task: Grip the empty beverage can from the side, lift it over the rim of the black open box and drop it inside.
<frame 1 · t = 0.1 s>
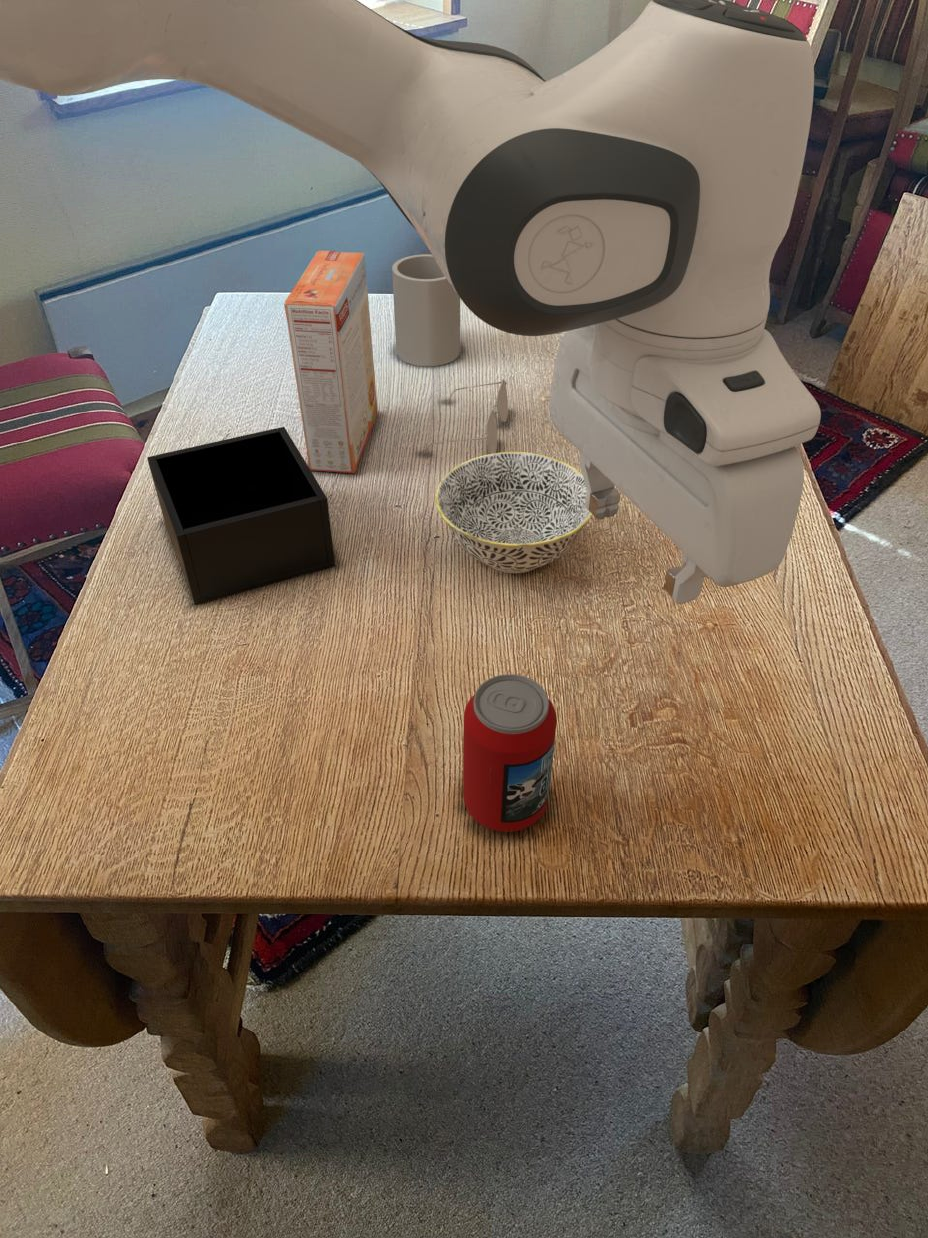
hand: (638, 551, 59), 23 cm above the table, tool pointing down, fingers open, 8 cm apart
apple: (627, 377, 124), on the table
cup: (428, 352, 129), on the table
cracker box: (343, 443, 111), on the table
sunglasses: (468, 432, 113), on the table
beverage can: (505, 803, 72), on the table
black open box: (248, 544, 96), on the table
bowl: (512, 554, 96), on the table
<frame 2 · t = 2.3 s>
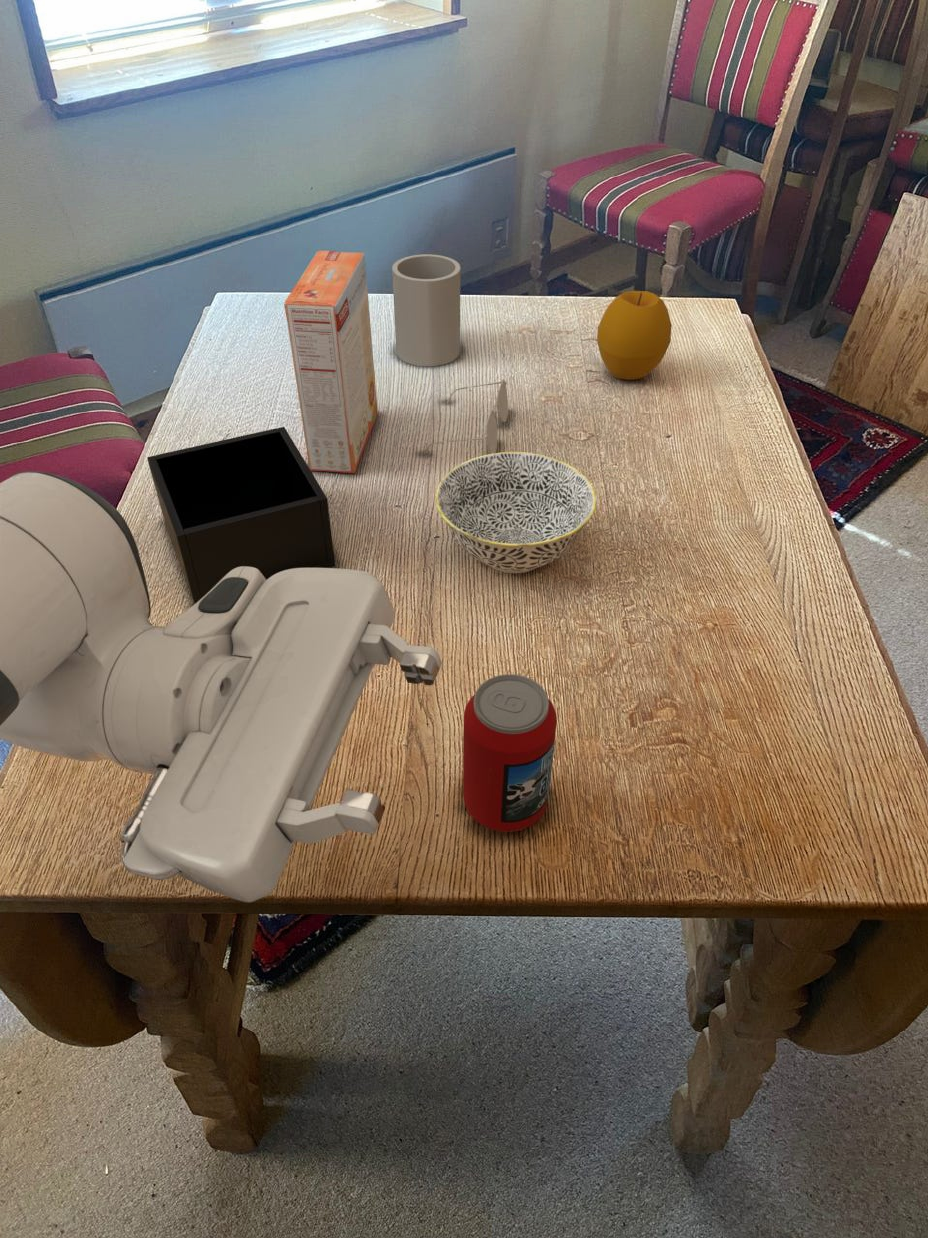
hand: (408, 737, 49), 22 cm above the table, tool horizontal, fingers open, 8 cm apart
nothing on the table moved.
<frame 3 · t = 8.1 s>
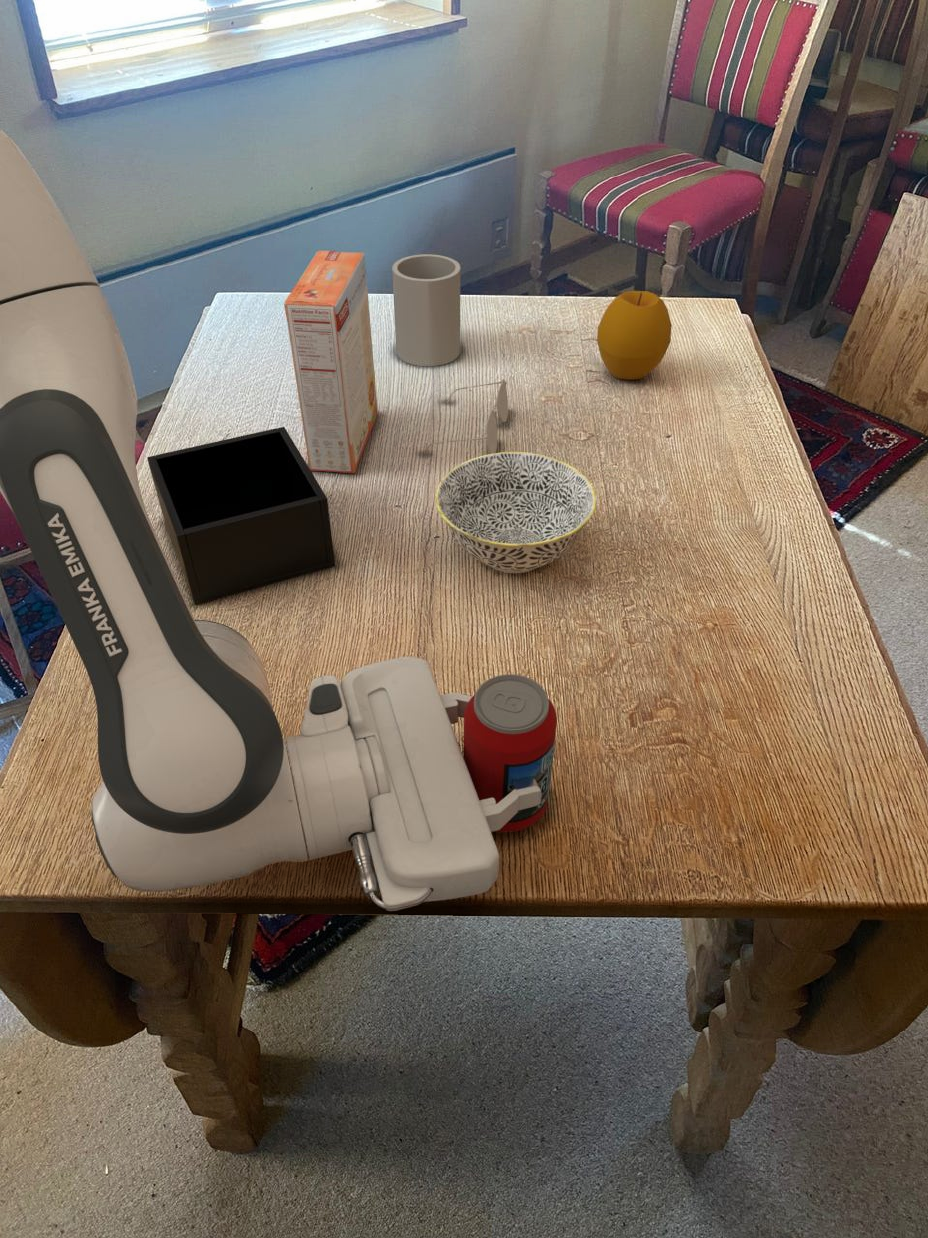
hand: (519, 747, 68), 7 cm above the table, tool horizontal, fingers closed on beverage can, 7 cm apart
beverage can: (505, 803, 72), on the table, touching gripper
everything else where it was.
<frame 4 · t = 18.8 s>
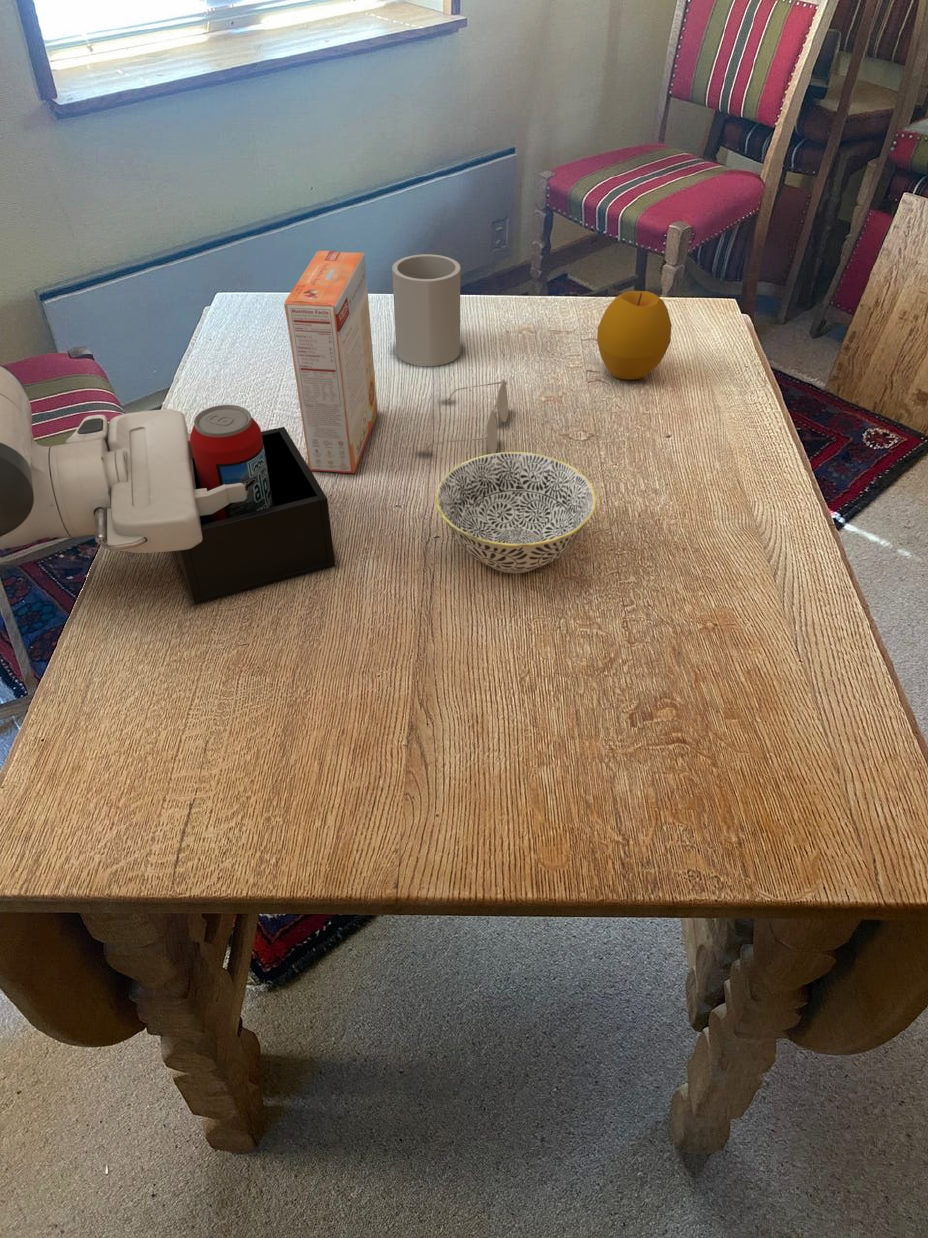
hand: (240, 466, 90), 10 cm above the table, tool horizontal, fingers closed on beverage can, 7 cm apart
beverage can: (242, 522, 94), point 3 cm above the table, touching gripper
everything else where it was.
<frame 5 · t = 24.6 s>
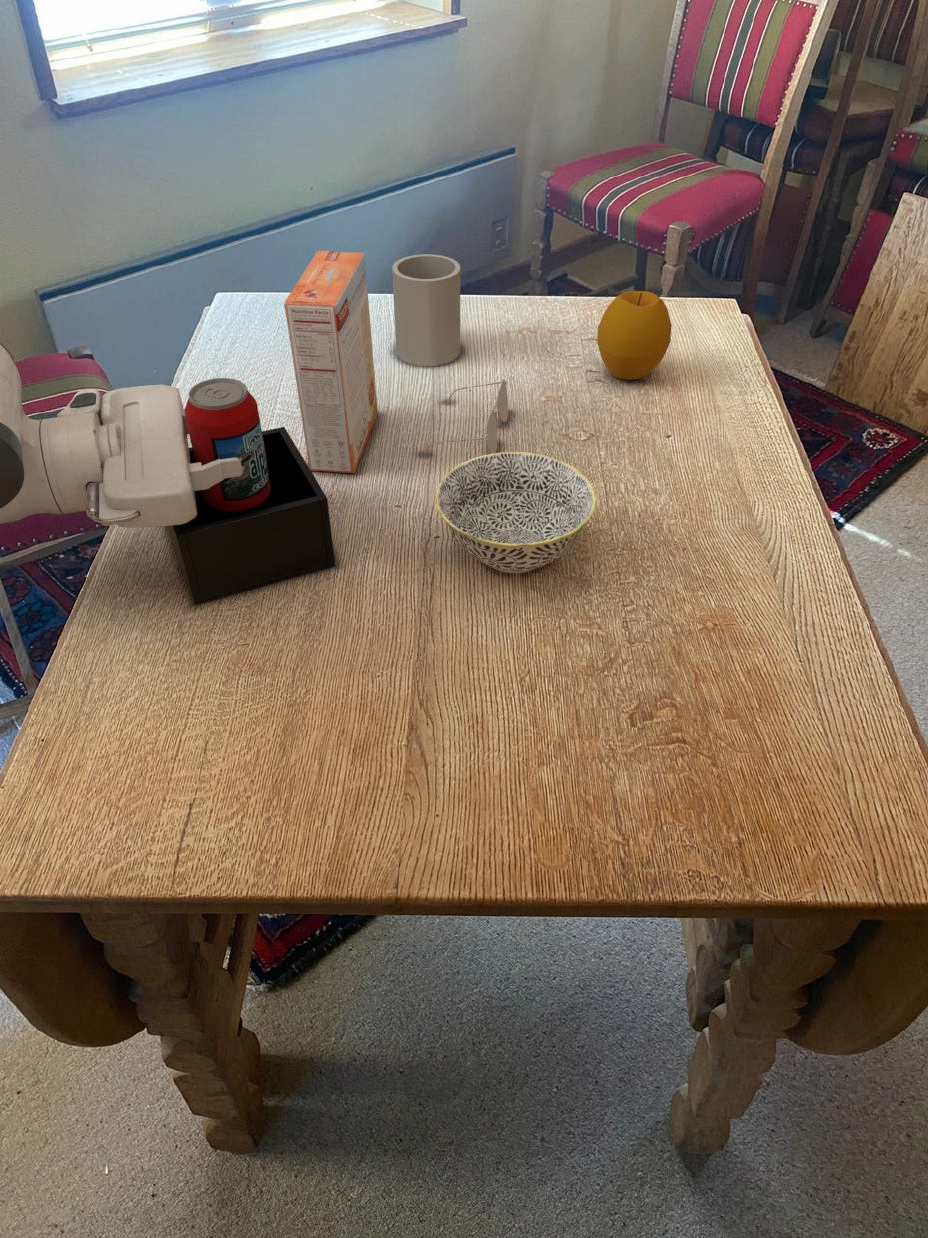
hand: (236, 441, 88), 13 cm above the table, tool horizontal, fingers closed on beverage can, 7 cm apart
beverage can: (238, 500, 92), point 6 cm above the table, touching gripper
everything else where it was.
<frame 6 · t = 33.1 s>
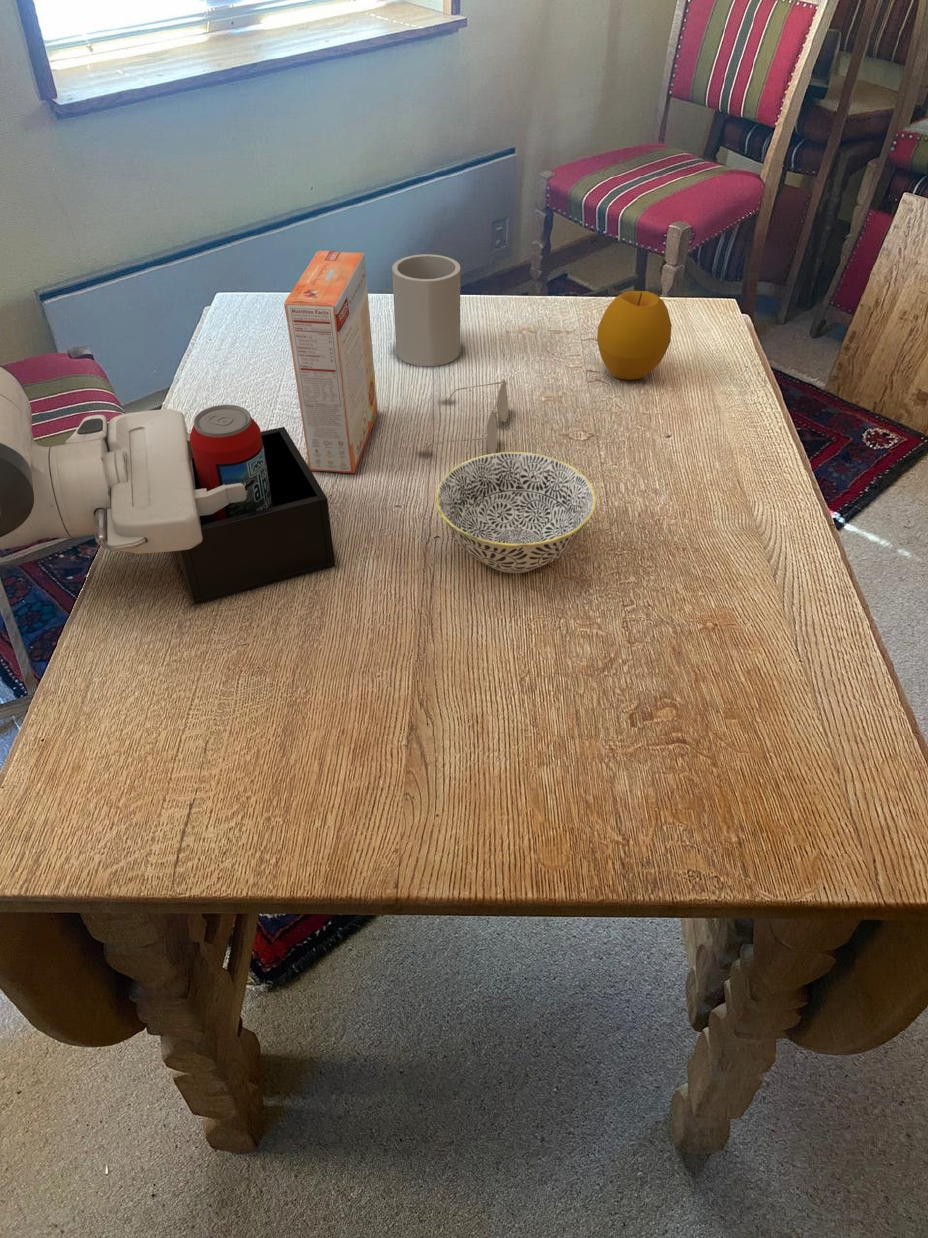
hand: (240, 466, 90), 10 cm above the table, tool horizontal, fingers closed on beverage can, 7 cm apart
beverage can: (242, 521, 94), point 3 cm above the table, touching gripper
everything else where it was.
when the fingers open (13 cm above the table, at t = 41.4 s): beverage can drops 5 cm, resting on black open box.
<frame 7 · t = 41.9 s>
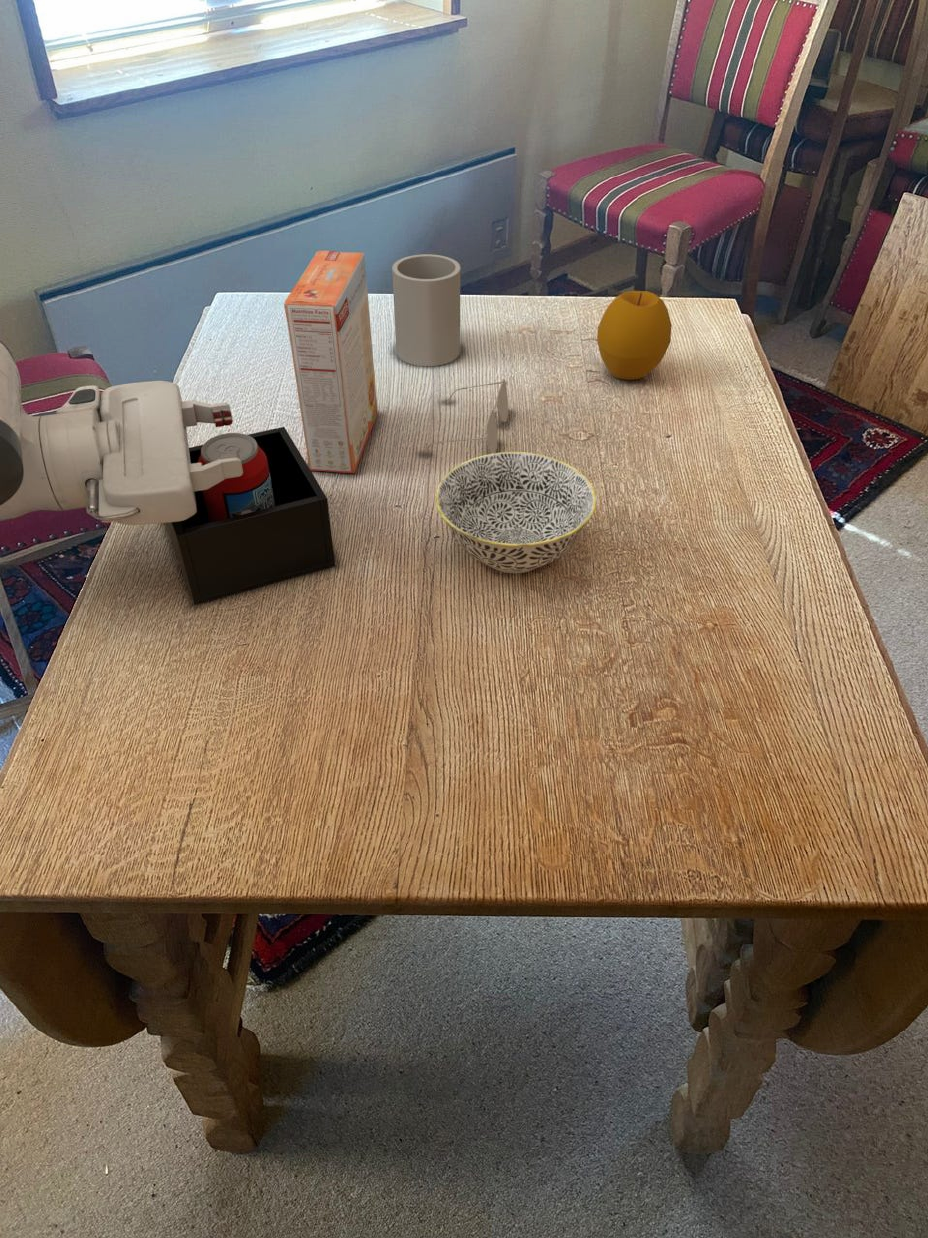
hand: (236, 437, 88), 13 cm above the table, tool horizontal, fingers open, 8 cm apart
beverage can: (248, 546, 95), resting on black open box
everything else where it was.
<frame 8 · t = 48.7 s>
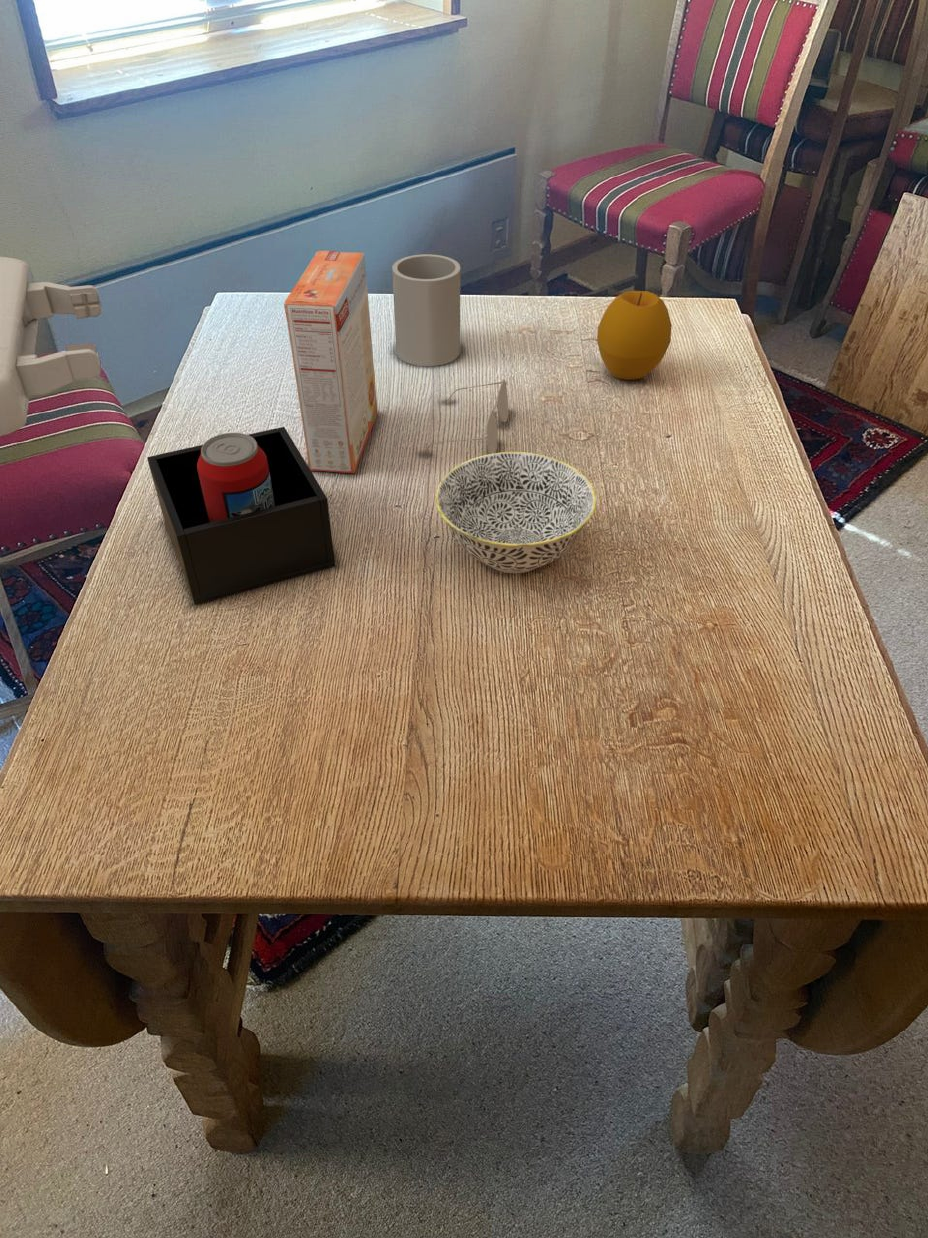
hand: (99, 328, 62), 32 cm above the table, tool horizontal, fingers open, 8 cm apart
nothing on the table moved.
at the end: beverage can inside the target area in the black open box (1.0 cm from its centre), point 0.4 cm above the black open box's base; the gripper is holding nothing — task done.
